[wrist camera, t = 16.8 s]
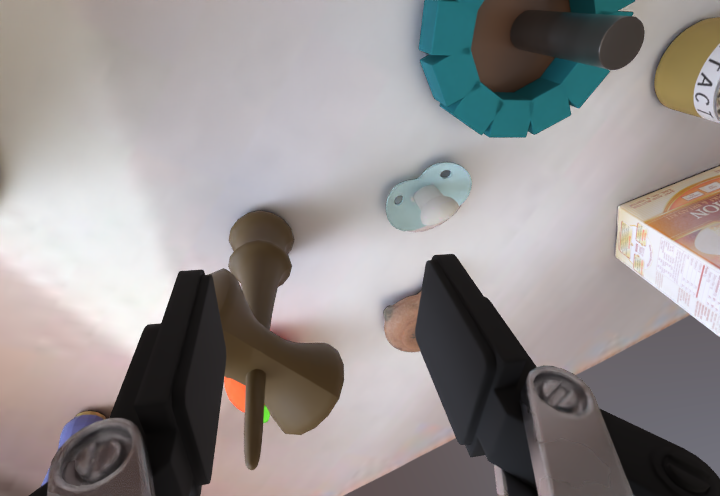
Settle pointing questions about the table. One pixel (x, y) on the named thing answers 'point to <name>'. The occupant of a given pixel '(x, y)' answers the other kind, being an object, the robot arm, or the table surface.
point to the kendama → (270, 337)
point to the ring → (501, 109)
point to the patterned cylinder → (692, 72)
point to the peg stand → (546, 40)
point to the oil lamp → (402, 323)
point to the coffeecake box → (677, 243)
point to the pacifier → (428, 198)
